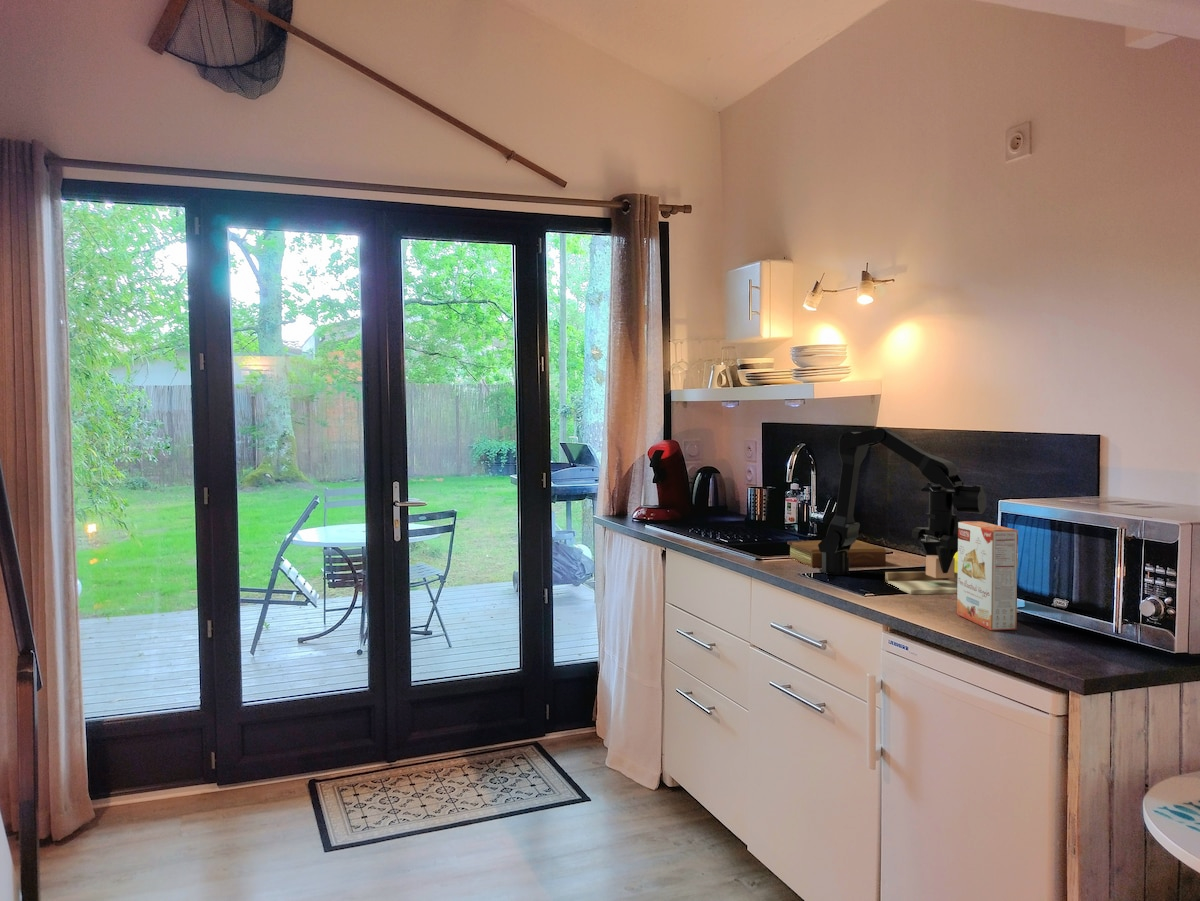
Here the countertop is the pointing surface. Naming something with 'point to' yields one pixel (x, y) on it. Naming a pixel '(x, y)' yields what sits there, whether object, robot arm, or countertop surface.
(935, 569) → the cube
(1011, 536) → the cracker box
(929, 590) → the arena
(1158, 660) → the countertop surface
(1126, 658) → the countertop surface
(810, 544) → the diary
